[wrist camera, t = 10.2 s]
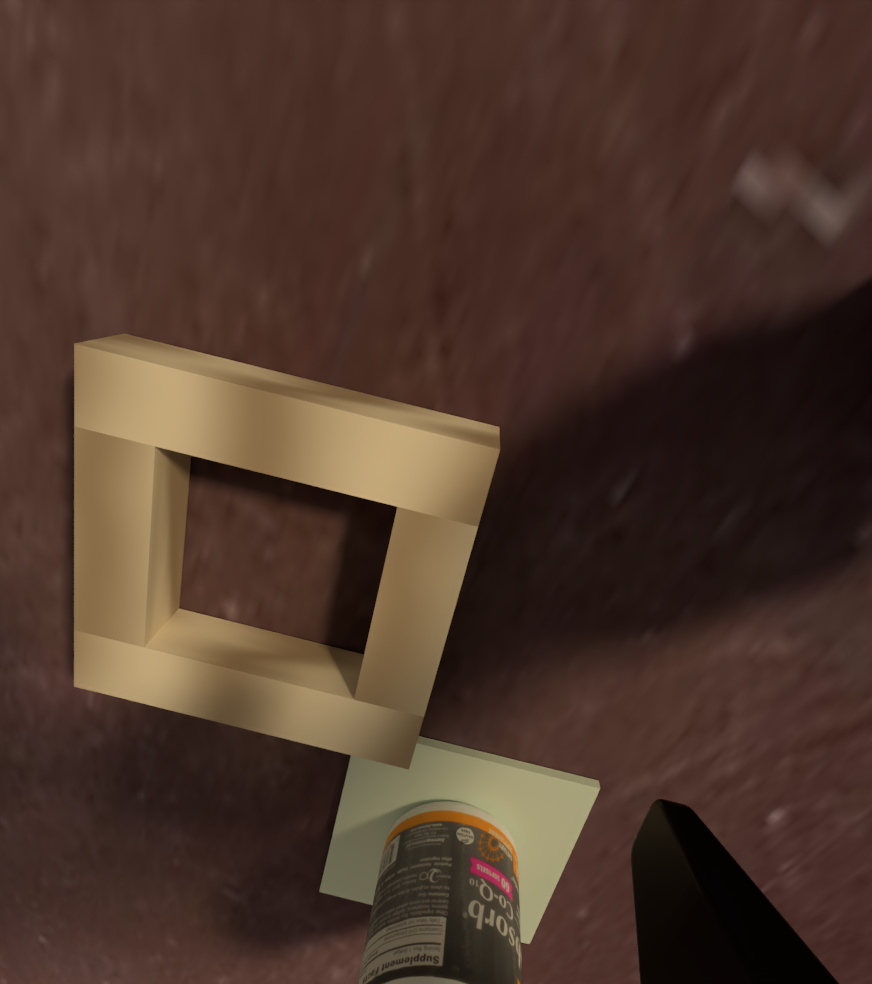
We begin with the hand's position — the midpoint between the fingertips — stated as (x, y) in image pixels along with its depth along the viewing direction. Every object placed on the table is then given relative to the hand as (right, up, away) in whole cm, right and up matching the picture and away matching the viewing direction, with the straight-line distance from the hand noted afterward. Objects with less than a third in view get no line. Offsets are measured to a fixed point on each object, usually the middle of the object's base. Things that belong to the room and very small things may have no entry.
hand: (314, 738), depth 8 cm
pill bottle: (+2, -12, +18) cm, 22 cm away
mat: (+2, -12, +18) cm, 22 cm away
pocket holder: (-4, +1, +14) cm, 14 cm away
